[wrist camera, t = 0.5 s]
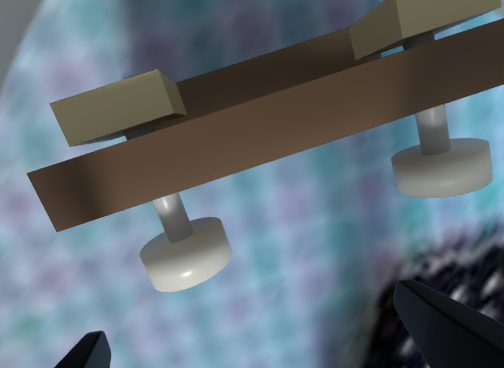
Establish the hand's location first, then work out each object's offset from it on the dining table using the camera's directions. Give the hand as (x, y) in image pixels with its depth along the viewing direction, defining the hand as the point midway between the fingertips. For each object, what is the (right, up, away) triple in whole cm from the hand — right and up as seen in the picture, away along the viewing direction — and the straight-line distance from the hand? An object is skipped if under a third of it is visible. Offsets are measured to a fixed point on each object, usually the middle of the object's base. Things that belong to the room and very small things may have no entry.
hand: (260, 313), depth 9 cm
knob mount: (0, +10, +13) cm, 16 cm away
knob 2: (+8, +8, +7) cm, 13 cm away
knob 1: (-5, +4, +6) cm, 9 cm away
